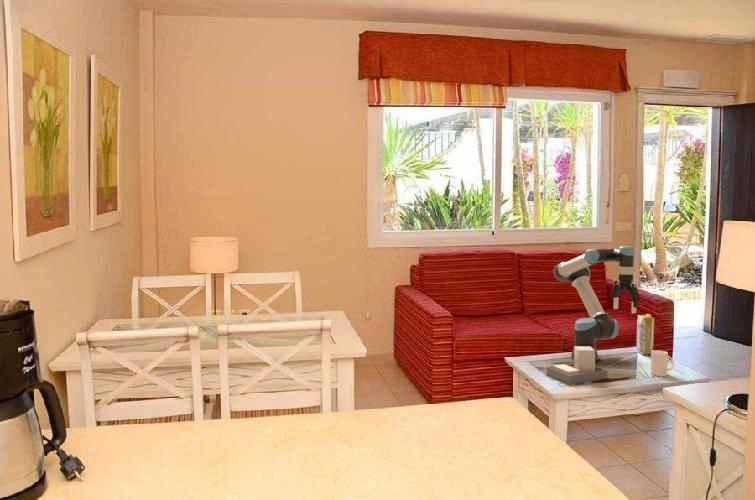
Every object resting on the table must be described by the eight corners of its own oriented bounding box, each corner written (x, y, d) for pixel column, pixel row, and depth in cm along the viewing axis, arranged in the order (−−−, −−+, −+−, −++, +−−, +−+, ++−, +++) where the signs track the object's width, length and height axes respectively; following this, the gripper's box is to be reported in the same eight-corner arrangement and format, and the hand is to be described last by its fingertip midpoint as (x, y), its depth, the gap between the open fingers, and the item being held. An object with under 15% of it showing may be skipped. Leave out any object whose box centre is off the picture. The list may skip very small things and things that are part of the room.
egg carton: (553, 375, 335) (553, 365, 335) (563, 374, 338) (564, 364, 337) (568, 382, 324) (568, 371, 324) (579, 380, 327) (579, 370, 326)
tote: (546, 375, 337) (546, 366, 337) (583, 370, 347) (583, 361, 346) (568, 385, 321) (569, 375, 320) (607, 379, 330) (607, 370, 330)
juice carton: (654, 355, 377) (655, 315, 374) (641, 355, 377) (642, 315, 375) (647, 351, 386) (649, 312, 384) (634, 351, 386) (636, 312, 384)
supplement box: (590, 373, 340) (590, 346, 338) (595, 378, 331) (595, 350, 329) (573, 373, 340) (573, 345, 338) (577, 378, 331) (578, 350, 330)
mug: (676, 375, 337) (677, 353, 336) (669, 378, 331) (670, 356, 330) (654, 370, 346) (655, 349, 345) (647, 373, 340) (648, 352, 339)
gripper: (648, 276, 344) (646, 314, 346) (614, 270, 367) (613, 306, 369) (637, 277, 341) (636, 315, 343) (604, 271, 364) (603, 307, 366)
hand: (624, 310), depth 356 cm, fingers open, 13 cm apart
